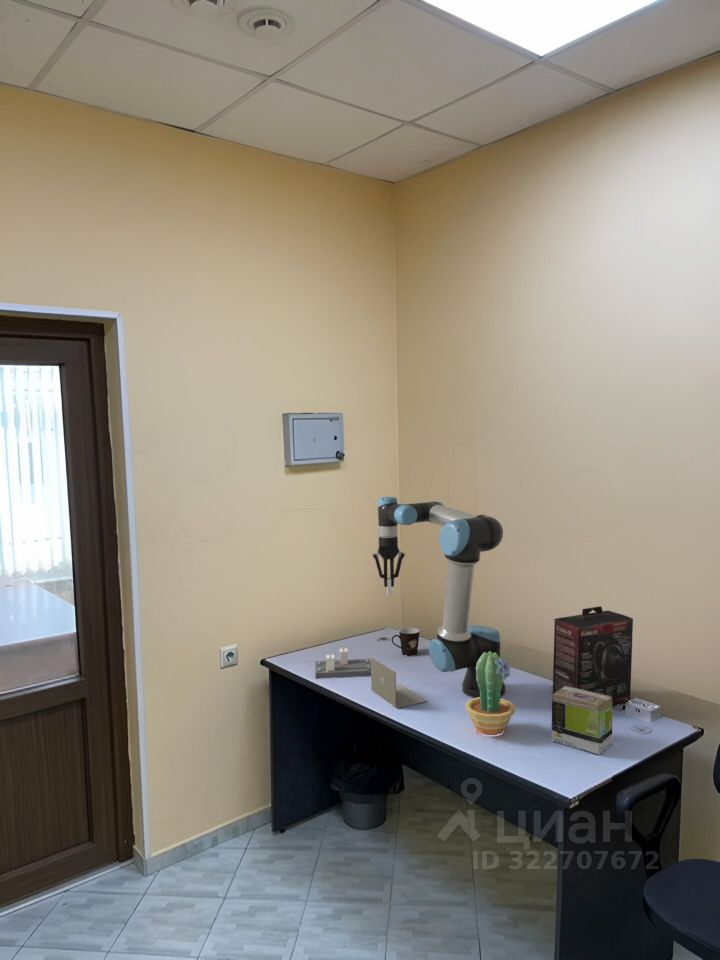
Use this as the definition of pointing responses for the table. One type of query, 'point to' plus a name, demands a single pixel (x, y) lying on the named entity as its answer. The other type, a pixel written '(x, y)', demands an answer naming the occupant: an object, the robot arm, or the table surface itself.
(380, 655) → the table surface
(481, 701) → the potted cactus
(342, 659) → the fader
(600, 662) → the headset box
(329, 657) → the fader
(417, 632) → the coffee mug
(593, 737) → the tea box
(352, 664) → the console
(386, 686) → the laptop
